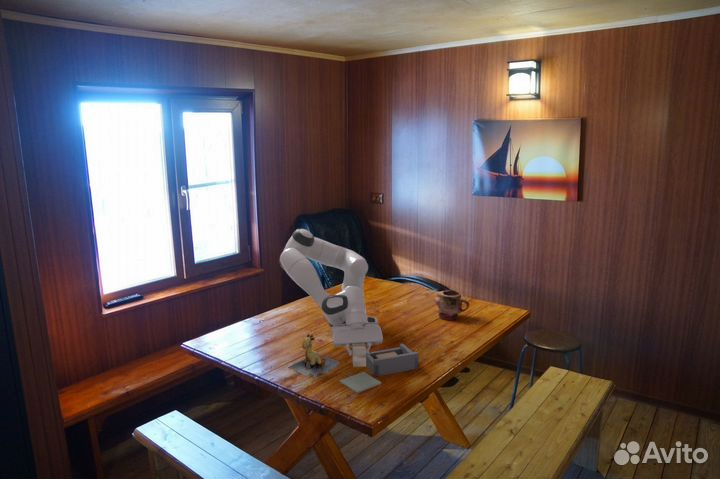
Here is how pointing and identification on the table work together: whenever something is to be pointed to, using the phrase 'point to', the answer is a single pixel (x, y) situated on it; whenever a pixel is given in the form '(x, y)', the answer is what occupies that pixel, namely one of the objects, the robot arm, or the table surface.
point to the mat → (360, 382)
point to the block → (359, 355)
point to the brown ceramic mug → (450, 304)
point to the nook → (392, 360)
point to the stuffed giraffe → (313, 360)
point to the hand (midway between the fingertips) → (359, 355)
